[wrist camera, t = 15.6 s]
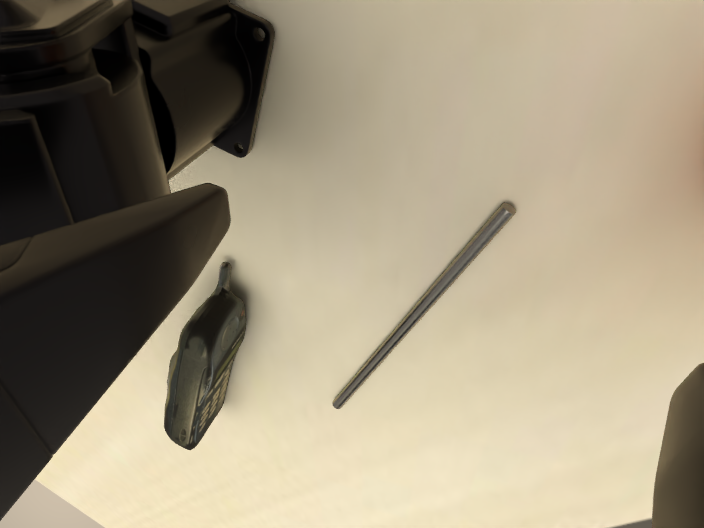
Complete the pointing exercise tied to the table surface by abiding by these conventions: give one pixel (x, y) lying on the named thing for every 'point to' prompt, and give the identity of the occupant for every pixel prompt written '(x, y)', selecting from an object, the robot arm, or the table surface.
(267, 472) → the table surface
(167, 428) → the mobile phone
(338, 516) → the table surface
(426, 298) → the rod
